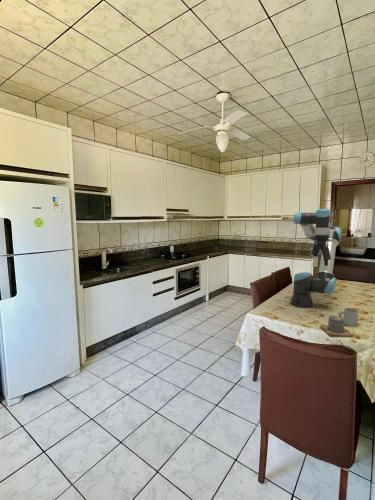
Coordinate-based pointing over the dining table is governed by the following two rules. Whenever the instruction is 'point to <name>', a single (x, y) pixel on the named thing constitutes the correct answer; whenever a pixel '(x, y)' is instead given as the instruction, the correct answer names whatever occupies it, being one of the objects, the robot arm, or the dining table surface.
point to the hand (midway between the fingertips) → (319, 268)
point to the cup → (350, 316)
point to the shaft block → (333, 334)
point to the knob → (336, 324)
